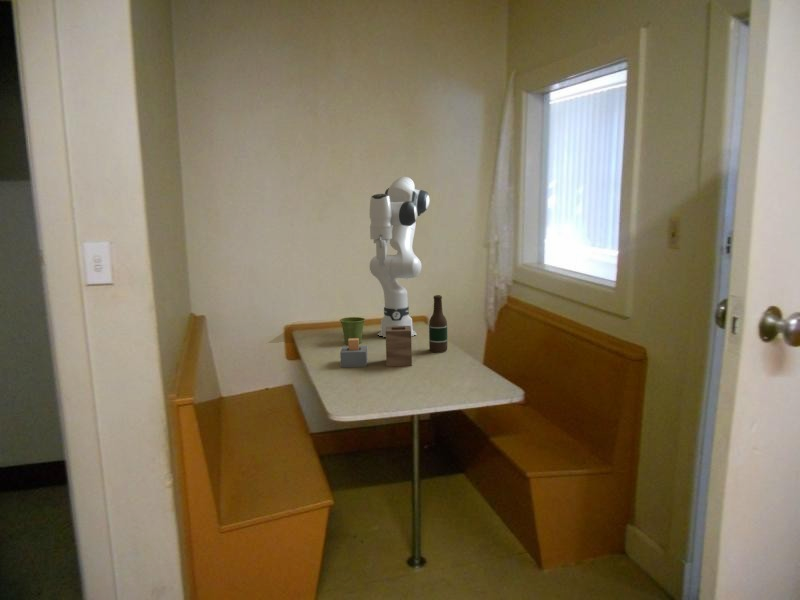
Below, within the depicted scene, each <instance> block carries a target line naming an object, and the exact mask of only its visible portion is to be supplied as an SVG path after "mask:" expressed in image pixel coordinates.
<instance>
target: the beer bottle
mask: <svg viewBox="0 0 800 600" xmlns="http://www.w3.org/2000/svg"><path fill="white" fill-rule="evenodd" d="M442 299H443V296H442V295H438V294H435V295H433V313H432V315H431V316H430V318H429V323H428V331H429V332H428V334H429V335H428V339H429V341H428V343H429V345H428V346H429V351H430V352H431V353H437V352H439V353H445V352H447V351H448V321H447V318H446V317H445V315H444V312H443V300H442ZM446 350H447V351H446Z"/></svg>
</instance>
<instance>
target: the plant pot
mask: <svg viewBox="0 0 800 600" xmlns="http://www.w3.org/2000/svg"><path fill="white" fill-rule="evenodd" d="M365 321H366V318H364V317H359V316H351V317H349V316H348V317H343V318H340V319H339V322H340V324H341V327H342V332H343V337H344V338H343V339H344V343H345V344H346V343H347V344H346V345H348V340H349V339H352V338H359V343H360V344H361V343H362V338H363V329H364V326H365Z"/></svg>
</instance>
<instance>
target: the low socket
mask: <svg viewBox="0 0 800 600" xmlns="http://www.w3.org/2000/svg"><path fill="white" fill-rule="evenodd" d="M339 354H340V357H339V358H340V368H366V367H367V364H368V361H369V360H368V346H367V345H359V350H351V351H349V346H348V345H347V346H346V345H345V346H343V345H342V347H341V349H340V353H339Z"/></svg>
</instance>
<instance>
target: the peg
mask: <svg viewBox="0 0 800 600" xmlns="http://www.w3.org/2000/svg"><path fill="white" fill-rule="evenodd" d="M347 346H349V351H351V350H359V346H360V344H359V338H352V339H349V340H348V344H347Z"/></svg>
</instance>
